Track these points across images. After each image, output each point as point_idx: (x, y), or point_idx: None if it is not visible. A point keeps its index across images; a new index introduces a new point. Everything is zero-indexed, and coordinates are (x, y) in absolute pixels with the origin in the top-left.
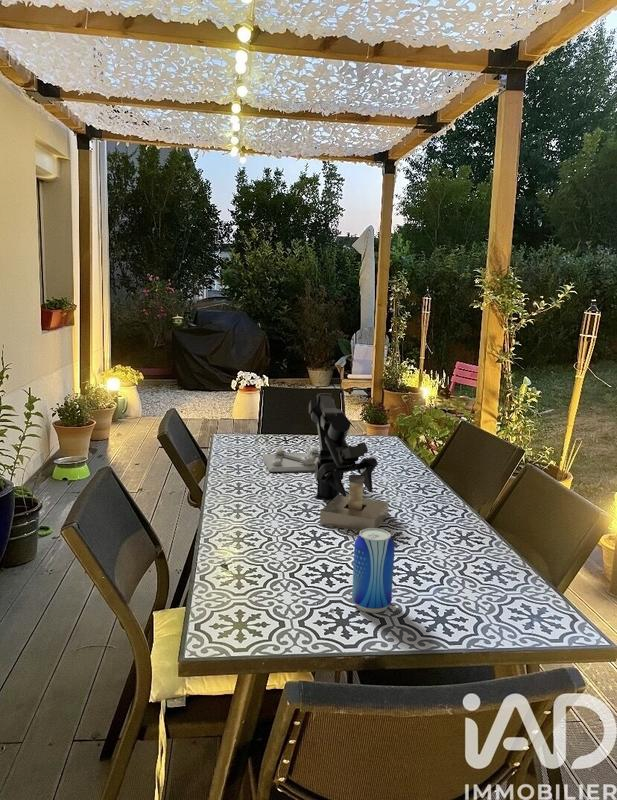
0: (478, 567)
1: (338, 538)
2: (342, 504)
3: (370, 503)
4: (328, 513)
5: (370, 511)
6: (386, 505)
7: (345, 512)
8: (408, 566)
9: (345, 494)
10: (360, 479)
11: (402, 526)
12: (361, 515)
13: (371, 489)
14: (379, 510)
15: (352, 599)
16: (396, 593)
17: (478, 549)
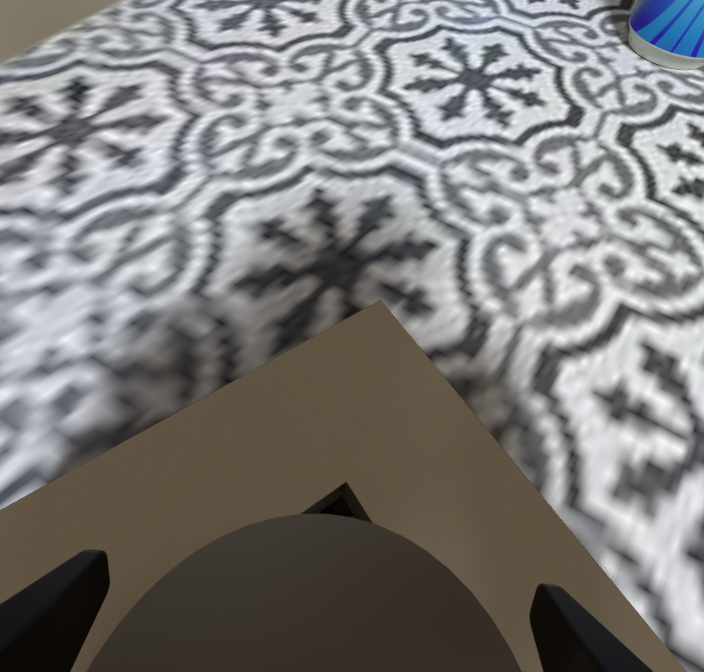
0: (272, 25)
1: (590, 387)
2: None
3: (117, 617)
4: (639, 622)
5: (294, 431)
6: (39, 491)
7: (500, 525)
8: (455, 102)
9: (562, 588)
10: (348, 520)
11: (157, 334)
12: (416, 399)
13: (85, 561)
14: (214, 411)
15: None
16: (580, 49)
17: (144, 68)
